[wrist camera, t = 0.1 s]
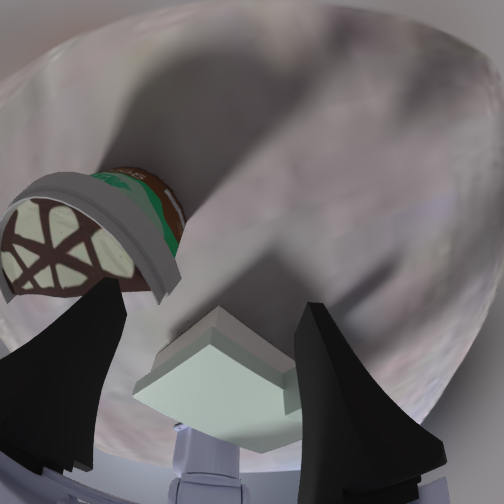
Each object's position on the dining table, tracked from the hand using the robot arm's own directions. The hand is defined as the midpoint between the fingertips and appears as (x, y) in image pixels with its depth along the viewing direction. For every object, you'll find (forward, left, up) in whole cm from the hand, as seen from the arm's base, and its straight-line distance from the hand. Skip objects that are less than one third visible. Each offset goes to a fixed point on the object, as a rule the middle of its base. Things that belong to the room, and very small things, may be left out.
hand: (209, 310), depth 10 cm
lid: (-9, -13, -7) cm, 17 cm away
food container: (-4, +7, -11) cm, 14 cm away
